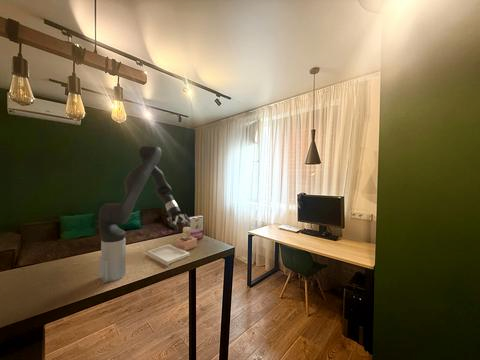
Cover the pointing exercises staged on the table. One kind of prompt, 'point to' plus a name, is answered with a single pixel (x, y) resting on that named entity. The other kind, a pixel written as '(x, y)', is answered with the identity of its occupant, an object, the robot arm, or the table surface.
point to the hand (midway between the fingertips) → (183, 229)
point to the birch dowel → (186, 233)
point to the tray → (167, 254)
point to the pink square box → (186, 243)
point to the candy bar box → (196, 226)
